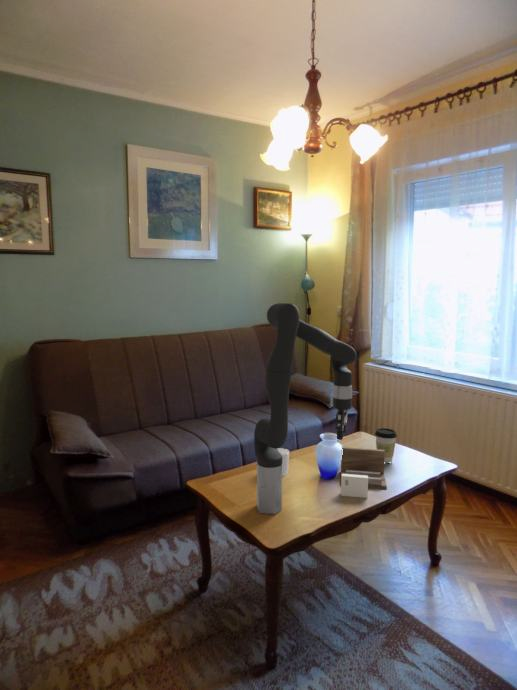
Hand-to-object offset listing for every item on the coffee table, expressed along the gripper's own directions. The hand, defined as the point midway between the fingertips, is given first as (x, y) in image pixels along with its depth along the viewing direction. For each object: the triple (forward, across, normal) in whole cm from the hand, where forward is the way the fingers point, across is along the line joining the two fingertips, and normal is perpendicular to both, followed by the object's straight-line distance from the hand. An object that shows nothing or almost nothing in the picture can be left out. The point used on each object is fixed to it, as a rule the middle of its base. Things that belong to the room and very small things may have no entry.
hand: (341, 436), depth 177 cm
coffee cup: (+22, +34, -16) cm, 43 cm away
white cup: (+22, +6, +27) cm, 35 cm away
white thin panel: (+22, -5, -6) cm, 23 cm away
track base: (+22, +11, -8) cm, 25 cm away
